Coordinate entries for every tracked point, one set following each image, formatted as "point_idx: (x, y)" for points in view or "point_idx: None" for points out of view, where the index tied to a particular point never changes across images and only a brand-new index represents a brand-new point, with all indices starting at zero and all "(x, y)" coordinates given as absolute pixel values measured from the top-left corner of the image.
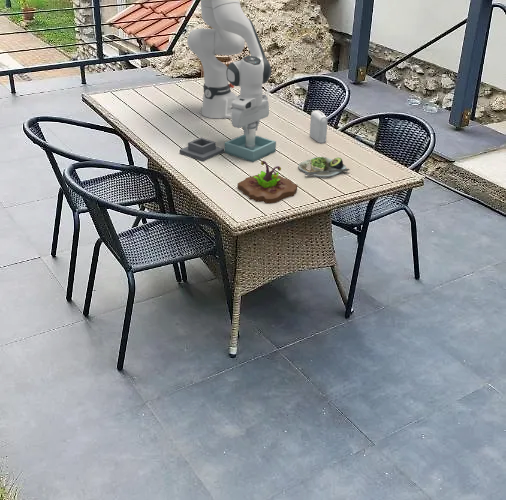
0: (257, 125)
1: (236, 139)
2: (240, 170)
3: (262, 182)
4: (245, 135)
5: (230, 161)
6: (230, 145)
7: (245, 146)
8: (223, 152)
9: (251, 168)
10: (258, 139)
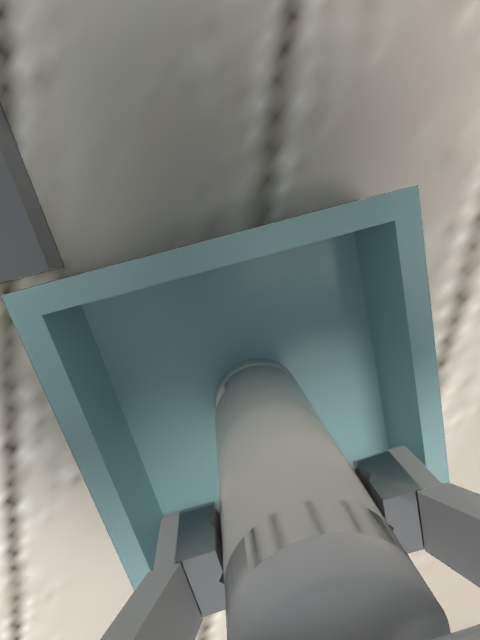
0: (459, 564)
1: (192, 274)
2: (4, 591)
3: None
4: (349, 232)
5: (15, 446)
6: (44, 373)
7: (219, 381)
8: (51, 269)
9: (89, 594)
10: (399, 353)
